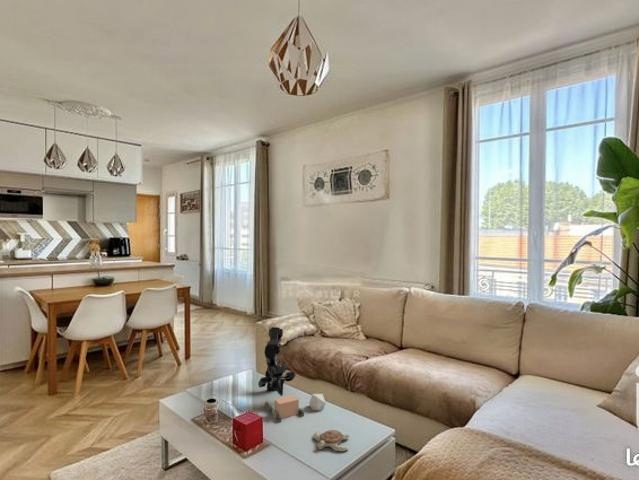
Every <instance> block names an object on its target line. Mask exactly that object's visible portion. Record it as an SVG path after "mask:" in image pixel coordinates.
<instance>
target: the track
mask: <svg viewBox="0 0 639 480" xmlns="http://www.w3.org/2000/svg"><path fill="white" fill-rule="evenodd" d="M264 407H265V408H266V410H268V412H269V413H270V414H271V416H273V417H274V419H276V420H277V422H278V424H279V423H282V418H281V417H280V416H279V415H278V413H277V412H276V411H275V408H273V406H272V405H270V403H269V402H268V401H266V400H265V401H264ZM298 415H300V416H301V418H303V417H305V411H304V410H303V409H302V408H301V407H299V414H298Z"/></svg>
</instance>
